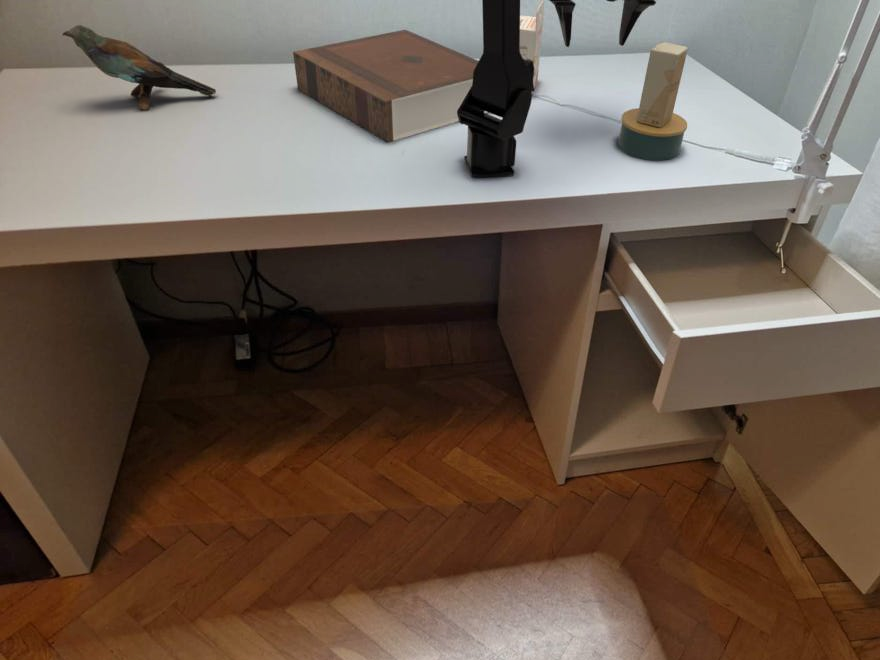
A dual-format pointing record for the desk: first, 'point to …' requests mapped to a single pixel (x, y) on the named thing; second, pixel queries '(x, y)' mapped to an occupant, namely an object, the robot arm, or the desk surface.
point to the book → (388, 82)
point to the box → (661, 84)
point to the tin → (651, 137)
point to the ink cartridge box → (532, 39)
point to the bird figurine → (131, 65)
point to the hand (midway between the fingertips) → (594, 45)
